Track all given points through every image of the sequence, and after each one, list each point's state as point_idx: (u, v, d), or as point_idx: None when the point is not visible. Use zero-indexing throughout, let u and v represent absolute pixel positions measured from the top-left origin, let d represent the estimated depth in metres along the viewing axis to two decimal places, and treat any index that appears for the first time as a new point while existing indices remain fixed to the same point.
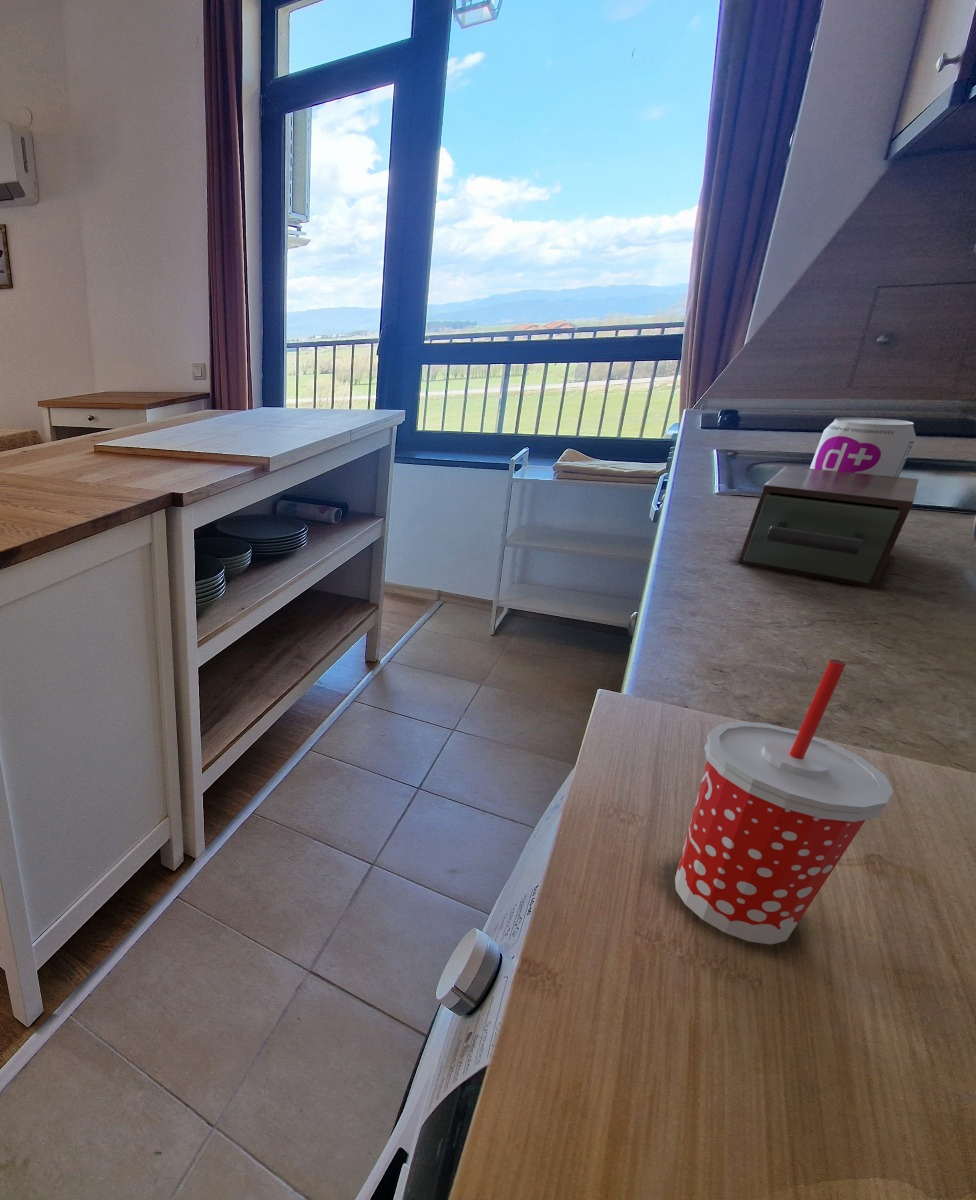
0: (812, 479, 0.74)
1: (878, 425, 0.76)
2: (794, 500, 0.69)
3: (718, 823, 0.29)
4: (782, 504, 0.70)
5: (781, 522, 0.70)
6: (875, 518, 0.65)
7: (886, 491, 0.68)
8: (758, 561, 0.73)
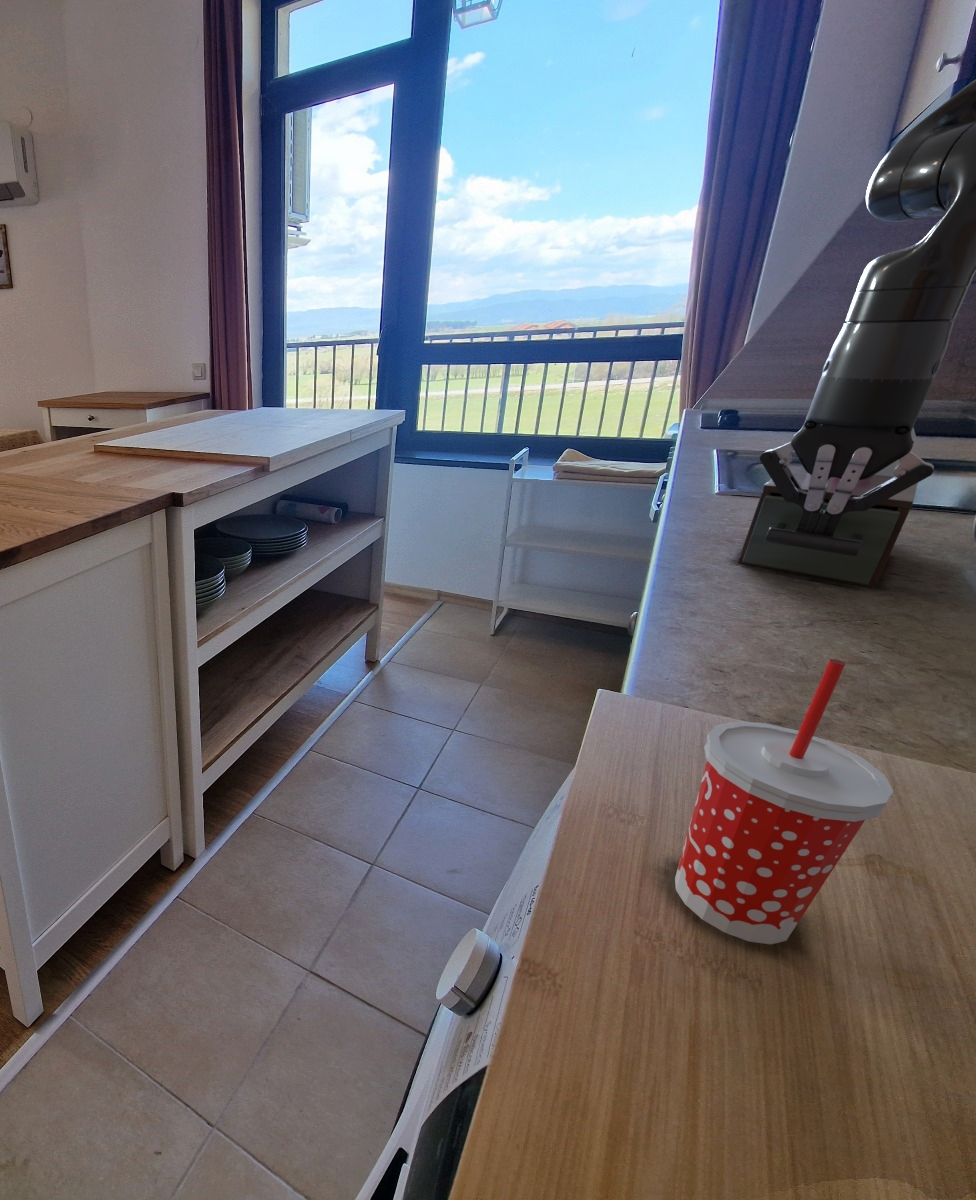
0: None
1: None
2: None
3: (718, 823, 0.29)
4: (781, 505, 0.70)
5: (780, 523, 0.70)
6: (875, 519, 0.65)
7: None
8: (757, 562, 0.73)
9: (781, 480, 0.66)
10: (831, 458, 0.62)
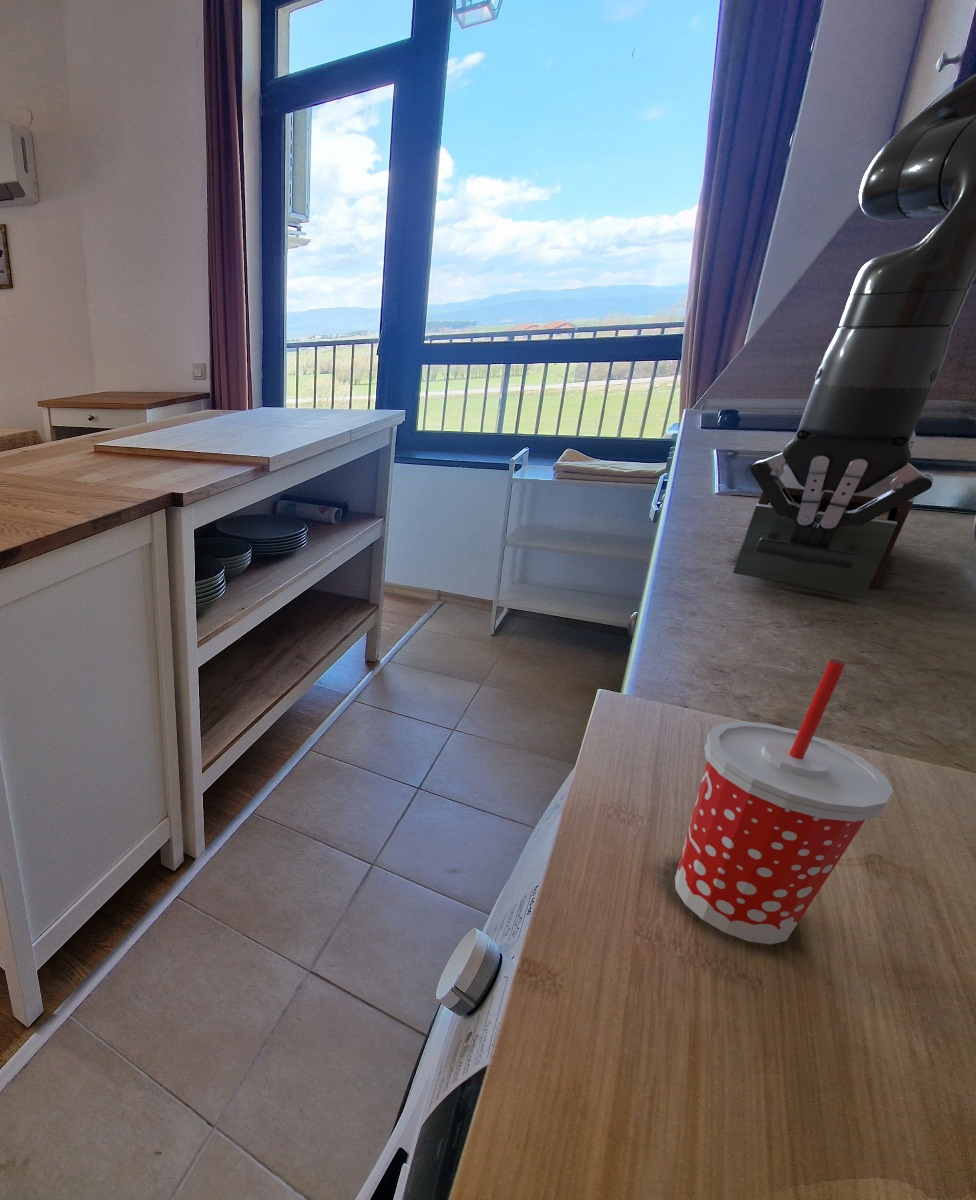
0: None
1: None
2: None
3: (718, 823, 0.29)
4: (773, 514, 0.67)
5: (772, 533, 0.67)
6: (870, 530, 0.62)
7: (886, 491, 0.68)
8: (748, 574, 0.69)
9: (773, 492, 0.63)
10: (825, 470, 0.59)
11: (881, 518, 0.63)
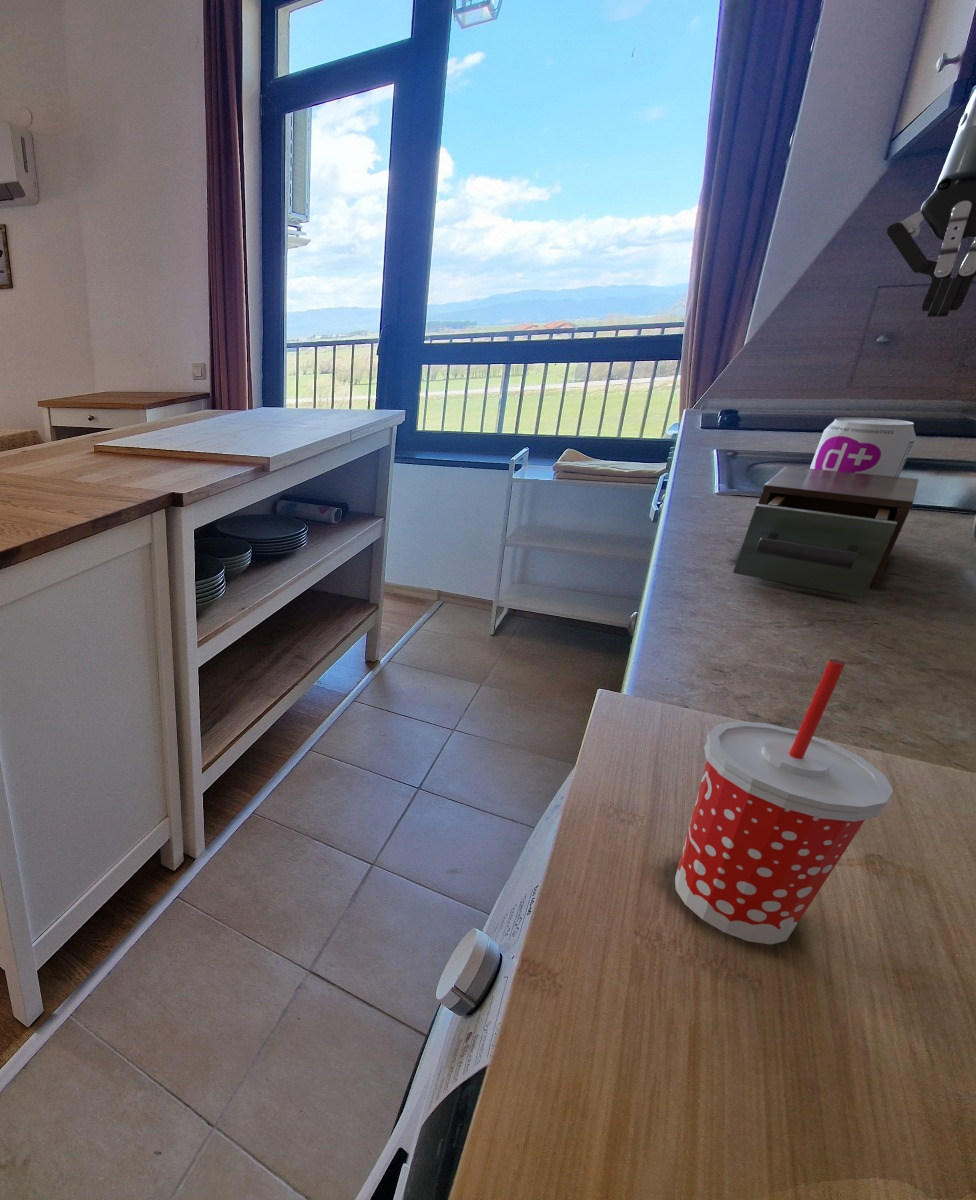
0: (812, 479, 0.74)
1: (878, 425, 0.76)
2: (785, 510, 0.66)
3: (718, 823, 0.29)
4: (773, 514, 0.67)
5: (772, 533, 0.67)
6: (870, 530, 0.62)
7: (886, 491, 0.68)
8: (748, 574, 0.69)
9: (909, 250, 0.66)
10: (967, 214, 0.63)
11: (881, 518, 0.63)
